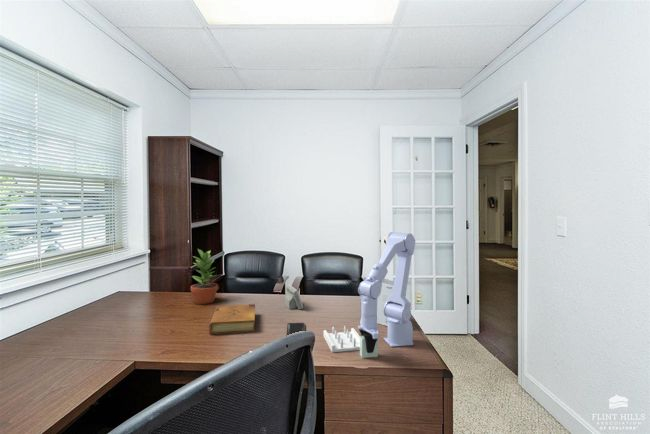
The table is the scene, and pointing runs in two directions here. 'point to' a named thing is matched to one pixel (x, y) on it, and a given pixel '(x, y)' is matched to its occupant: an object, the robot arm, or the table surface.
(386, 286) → the hard drive box
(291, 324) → the phone
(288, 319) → the table surface
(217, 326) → the diary
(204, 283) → the potted plant
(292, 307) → the grey angular sculpture
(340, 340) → the dish rack
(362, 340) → the block
